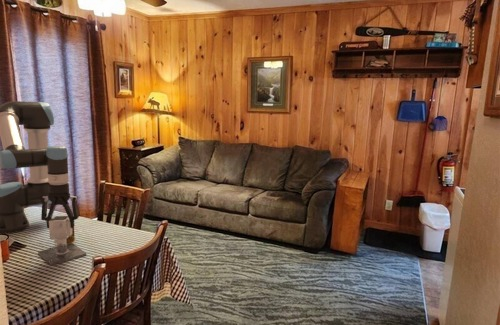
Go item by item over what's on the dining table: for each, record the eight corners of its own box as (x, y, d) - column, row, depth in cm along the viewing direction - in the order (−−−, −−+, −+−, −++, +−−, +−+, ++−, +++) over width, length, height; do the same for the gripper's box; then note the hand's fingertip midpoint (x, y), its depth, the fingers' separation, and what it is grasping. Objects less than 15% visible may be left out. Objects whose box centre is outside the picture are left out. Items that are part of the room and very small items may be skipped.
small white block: (55, 233, 145) (54, 215, 144) (72, 232, 147) (71, 215, 145) (48, 240, 137) (47, 222, 136) (65, 240, 139) (64, 221, 137)
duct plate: (38, 253, 144) (36, 232, 142) (72, 244, 154) (71, 224, 153) (50, 265, 134) (49, 242, 133) (86, 255, 145) (85, 233, 143)
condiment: (76, 242, 157) (75, 218, 155) (55, 246, 153) (54, 221, 151) (74, 237, 163) (73, 213, 161) (54, 240, 158) (53, 216, 156)
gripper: (28, 185, 133) (32, 239, 137) (81, 185, 137) (83, 237, 141) (36, 180, 141) (40, 232, 145) (86, 181, 144) (88, 231, 148)
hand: (61, 234), depth 143 cm, fingers closed on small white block, 7 cm apart
